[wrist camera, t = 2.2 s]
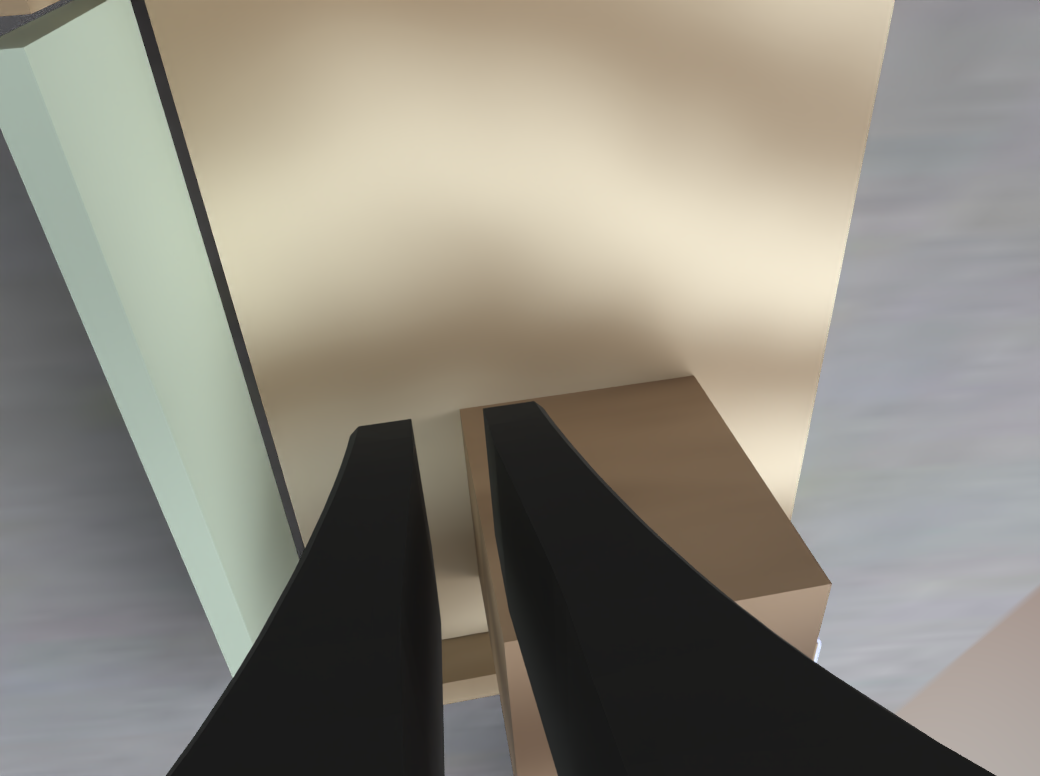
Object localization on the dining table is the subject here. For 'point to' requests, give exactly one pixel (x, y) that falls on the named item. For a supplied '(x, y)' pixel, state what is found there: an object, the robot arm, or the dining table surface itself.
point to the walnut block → (654, 522)
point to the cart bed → (521, 219)
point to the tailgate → (148, 299)
